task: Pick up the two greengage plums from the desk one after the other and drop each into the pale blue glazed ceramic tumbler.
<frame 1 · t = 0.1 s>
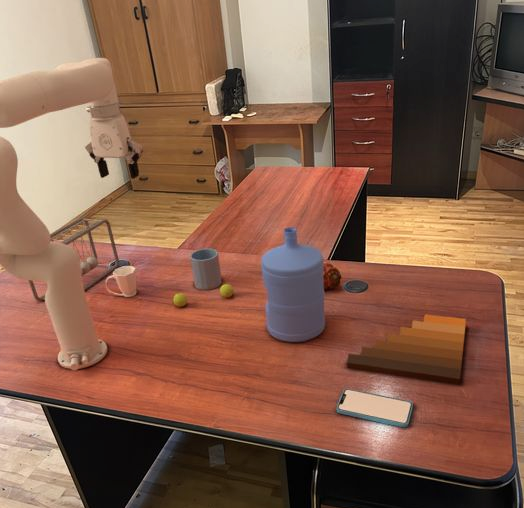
hand: (120, 176, 149), 37 cm above the table, tool pointing down, fingers open, 9 cm apart
tumbler: (208, 283, 172), on the table
water jug: (296, 327, 146), on the table
pan flute: (408, 347, 134), on the table
newton's cradle: (80, 284, 180), on the table
cup: (125, 295, 170), on the table
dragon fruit: (322, 288, 164), on the table
plum a: (181, 305, 161), on the table
plum b: (227, 296, 164), on the table
smartphone: (374, 410, 116), on the table
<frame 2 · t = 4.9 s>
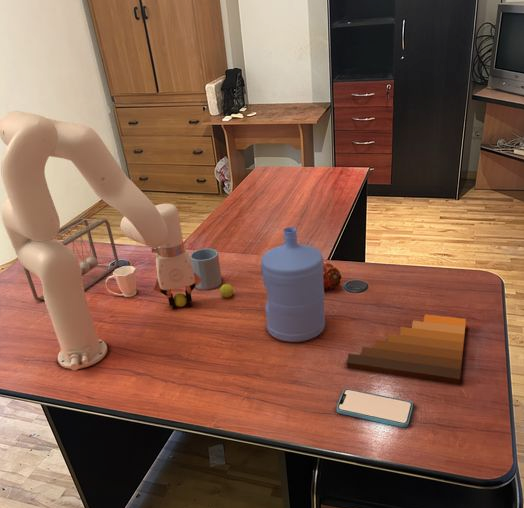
hand: (181, 304, 161), 0 cm above the table, tool pointing down, fingers closed on plum a, 3 cm apart
plum a: (181, 305, 161), on the table, touching gripper
everything else where it was.
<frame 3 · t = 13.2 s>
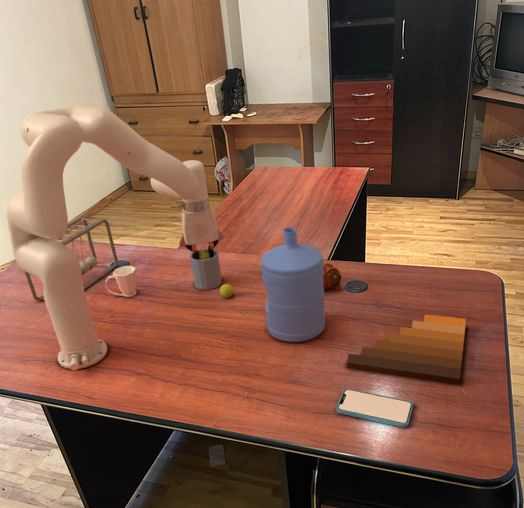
hand: (204, 261, 168), 8 cm above the table, tool pointing down, fingers closed on plum a, 3 cm apart
plum a: (204, 262, 168), point 7 cm above the table, touching gripper
everything else where it was.
when the fingers open (11 cm above the table, at t = 22.0 s): plum a drops 10 cm, resting on tumbler.
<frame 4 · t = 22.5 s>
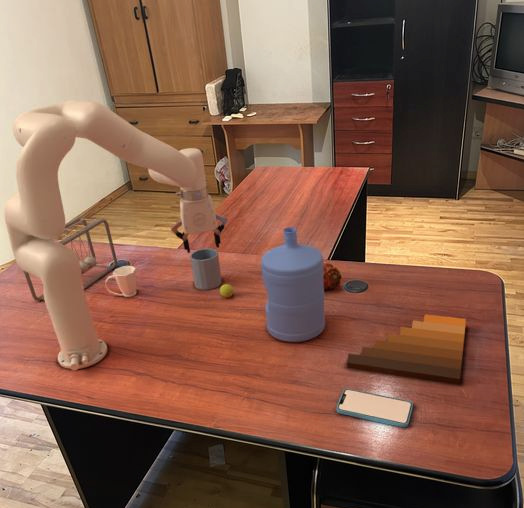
hand: (202, 248, 166), 12 cm above the table, tool pointing down, fingers open, 8 cm apart
plum a: (207, 281, 172), point 1 cm above the table, tilted 15°, touching tumbler
everything else where it was.
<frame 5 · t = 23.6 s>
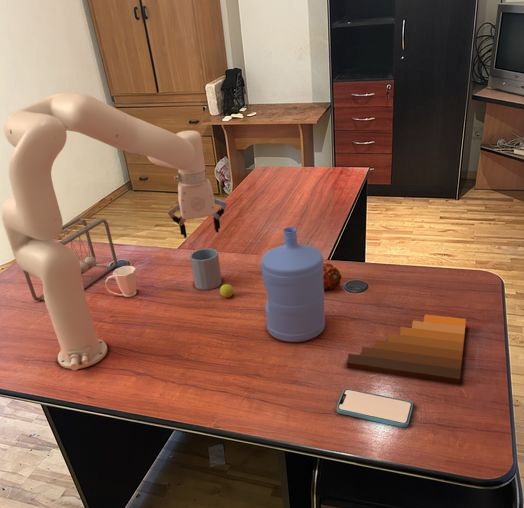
hand: (201, 233, 163), 17 cm above the table, tool pointing down, fingers open, 9 cm apart
plum a: (208, 279, 172), point 1 cm above the table, tilted 51°, touching tumbler
everything else where it was.
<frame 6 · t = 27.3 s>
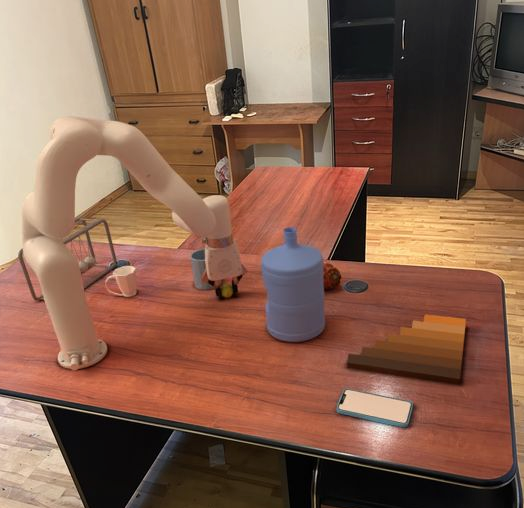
hand: (227, 295, 163), 0 cm above the table, tool pointing down, fingers closed on plum b, 3 cm apart
plum a: (207, 280, 172), point 1 cm above the table, tilted 37°, touching tumbler
plum b: (227, 296, 164), on the table, touching gripper
everything else where it was.
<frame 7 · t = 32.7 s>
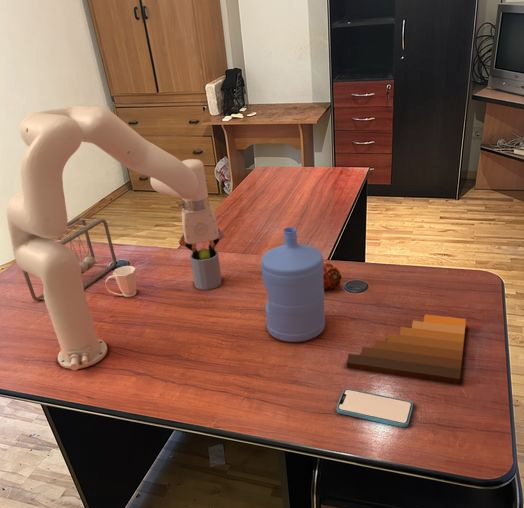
hand: (204, 259, 168), 8 cm above the table, tool pointing down, fingers closed on plum b, 3 cm apart
plum a: (207, 281, 172), point 1 cm above the table, tilted 17°, touching tumbler
plum b: (205, 260, 168), point 8 cm above the table, touching gripper
when the fingers open (11 cm above the table, at t = 44.3 s): plum b drops 5 cm and tips over, resting on plum a, tumbler.
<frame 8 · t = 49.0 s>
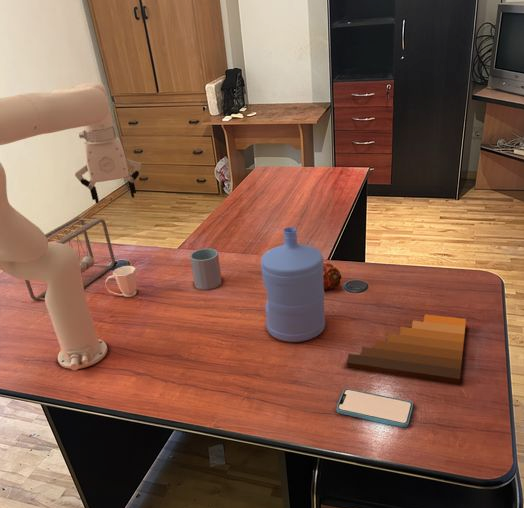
hand: (115, 198, 149), 32 cm above the table, tool pointing down, fingers open, 9 cm apart
plum a: (206, 279, 171), point 1 cm above the table, tilted 52°, touching plum b, tumbler
plum b: (206, 267, 169), point 5 cm above the table, tilted 124°, touching plum a, tumbler
at the end: plum a inside the target area in the tumbler (0.3 cm from its centre), point 1.4 cm above the tumbler's base; plum b inside the target area in the tumbler (0.2 cm from its centre), point 5.5 cm above the tumbler's base; the gripper is holding nothing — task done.
